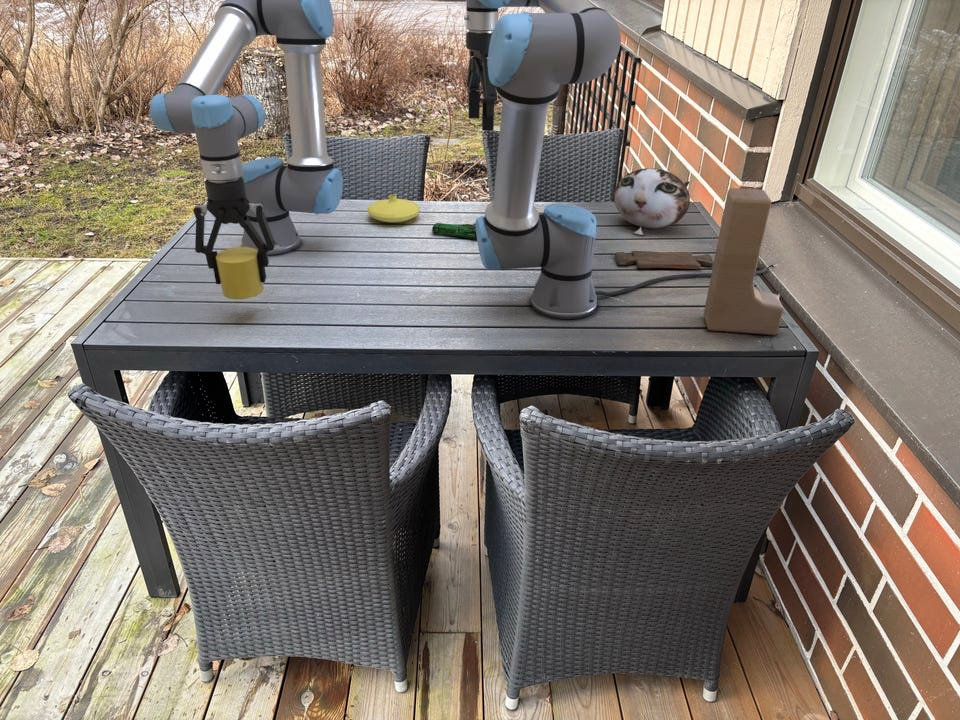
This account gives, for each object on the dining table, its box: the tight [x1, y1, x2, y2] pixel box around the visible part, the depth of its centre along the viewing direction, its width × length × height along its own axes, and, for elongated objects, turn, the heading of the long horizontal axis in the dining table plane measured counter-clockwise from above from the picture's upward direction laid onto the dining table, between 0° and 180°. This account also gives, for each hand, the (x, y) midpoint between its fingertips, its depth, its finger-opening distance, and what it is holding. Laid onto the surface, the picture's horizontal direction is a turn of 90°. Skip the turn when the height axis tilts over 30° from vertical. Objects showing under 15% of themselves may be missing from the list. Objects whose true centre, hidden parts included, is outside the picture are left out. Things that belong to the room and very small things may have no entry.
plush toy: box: [613, 167, 691, 236], centre depth 209 cm, size 22×18×20 cm
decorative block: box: [703, 187, 785, 336], centre depth 152 cm, size 8×15×30 cm, turn 82°
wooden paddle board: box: [614, 250, 714, 270], centre depth 190 cm, size 26×2×10 cm
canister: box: [216, 246, 265, 300], centre depth 154 cm, size 9×9×8 cm
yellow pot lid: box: [366, 194, 420, 224], centre depth 215 cm, size 16×16×7 cm
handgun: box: [431, 222, 477, 241], centre depth 208 cm, size 16×3×15 cm
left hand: (241, 280), depth 155 cm, fingers closed on canister, 9 cm apart
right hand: (480, 124), depth 179 cm, fingers open, 13 cm apart
